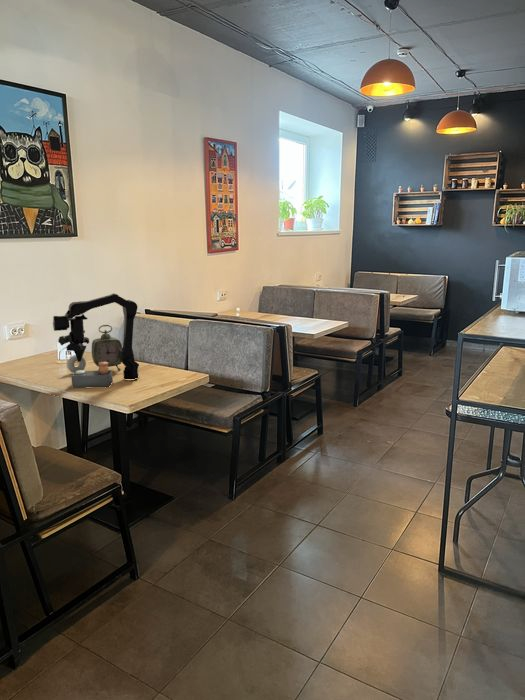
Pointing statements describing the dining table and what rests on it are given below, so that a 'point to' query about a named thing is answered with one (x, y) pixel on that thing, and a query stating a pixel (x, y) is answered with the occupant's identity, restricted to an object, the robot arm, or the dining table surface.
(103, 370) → the terracotta plunger
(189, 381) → the dining table surface
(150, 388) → the dining table surface
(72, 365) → the donut
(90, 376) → the press block
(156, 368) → the dining table surface
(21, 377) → the dining table surface
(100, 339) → the tabletop clock
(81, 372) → the plunger
